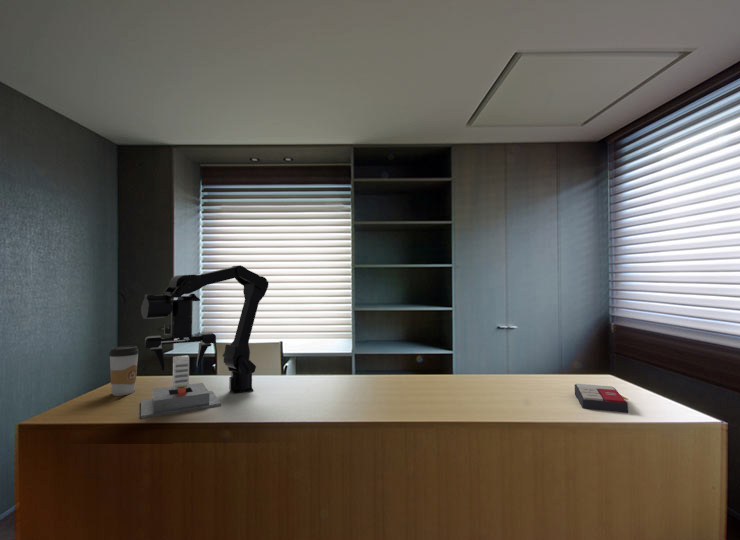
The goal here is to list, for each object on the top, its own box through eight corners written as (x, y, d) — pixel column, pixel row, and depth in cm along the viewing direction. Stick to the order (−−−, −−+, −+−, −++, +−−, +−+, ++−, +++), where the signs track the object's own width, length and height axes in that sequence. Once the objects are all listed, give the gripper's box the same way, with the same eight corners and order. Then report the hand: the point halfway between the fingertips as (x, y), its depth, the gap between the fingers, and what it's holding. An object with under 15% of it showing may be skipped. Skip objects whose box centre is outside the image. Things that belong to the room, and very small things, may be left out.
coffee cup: (123, 397, 118) (124, 349, 119) (101, 396, 120) (102, 349, 121) (144, 390, 126) (145, 345, 127) (123, 389, 128) (124, 345, 129)
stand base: (211, 393, 123) (212, 375, 123) (220, 406, 109) (221, 386, 109) (140, 403, 112) (141, 384, 112) (140, 418, 99) (141, 397, 99)
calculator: (582, 397, 105) (574, 381, 119) (582, 412, 105) (574, 394, 119) (628, 401, 101) (614, 384, 115) (628, 416, 101) (614, 398, 115)
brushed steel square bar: (187, 384, 114) (187, 355, 114) (188, 388, 110) (189, 357, 110) (172, 386, 111) (173, 356, 112) (173, 390, 108) (174, 359, 108)
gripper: (210, 313, 124) (210, 361, 123) (145, 316, 114) (144, 367, 113) (216, 315, 114) (216, 367, 113) (145, 318, 104) (144, 375, 104)
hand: (180, 369), depth 111 cm, fingers open, 9 cm apart
